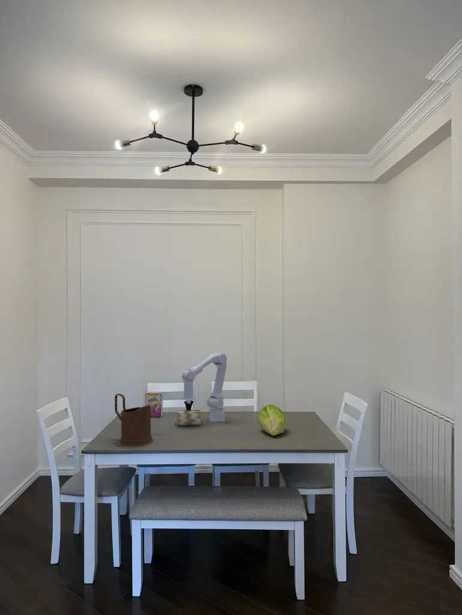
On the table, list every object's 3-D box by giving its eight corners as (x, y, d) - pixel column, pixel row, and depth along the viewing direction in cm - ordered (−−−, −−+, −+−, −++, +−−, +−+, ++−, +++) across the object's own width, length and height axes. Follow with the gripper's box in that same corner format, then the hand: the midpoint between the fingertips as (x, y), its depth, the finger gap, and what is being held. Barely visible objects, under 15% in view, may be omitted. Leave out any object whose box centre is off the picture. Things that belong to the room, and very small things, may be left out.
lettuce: (288, 444, 269) (259, 446, 270) (285, 421, 293) (259, 423, 294) (286, 420, 264) (257, 422, 266) (283, 399, 288) (256, 401, 289)
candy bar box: (144, 417, 322) (144, 392, 322) (146, 415, 327) (146, 391, 327) (161, 417, 321) (161, 393, 321) (162, 416, 326) (162, 391, 326)
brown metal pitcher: (138, 448, 250) (138, 399, 250) (103, 442, 261) (103, 396, 262) (160, 439, 266) (160, 394, 266) (126, 434, 278) (126, 391, 278)
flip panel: (200, 423, 298) (200, 409, 291) (200, 424, 297) (200, 411, 290) (177, 423, 296) (177, 410, 289) (177, 425, 295) (177, 412, 288)
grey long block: (202, 425, 298) (202, 421, 298) (202, 426, 296) (202, 421, 296) (174, 426, 297) (174, 422, 297) (174, 427, 295) (174, 422, 295)
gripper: (182, 388, 299) (182, 410, 299) (181, 392, 285) (182, 415, 284) (193, 388, 300) (193, 410, 300) (193, 392, 285) (194, 415, 285)
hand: (188, 413), depth 292 cm, fingers closed
